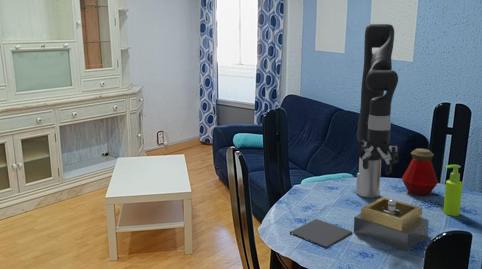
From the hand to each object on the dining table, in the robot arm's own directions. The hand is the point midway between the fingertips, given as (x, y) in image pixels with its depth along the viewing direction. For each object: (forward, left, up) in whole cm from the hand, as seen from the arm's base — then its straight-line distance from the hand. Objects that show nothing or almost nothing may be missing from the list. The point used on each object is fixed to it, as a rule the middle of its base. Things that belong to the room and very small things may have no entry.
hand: (376, 171), depth 150 cm
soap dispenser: (+15, +34, -22) cm, 43 cm away
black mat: (-11, -17, -22) cm, 30 cm away
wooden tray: (+7, 0, -16) cm, 17 cm away
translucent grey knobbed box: (+7, 0, -22) cm, 23 cm away
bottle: (-4, +48, -22) cm, 53 cm away
